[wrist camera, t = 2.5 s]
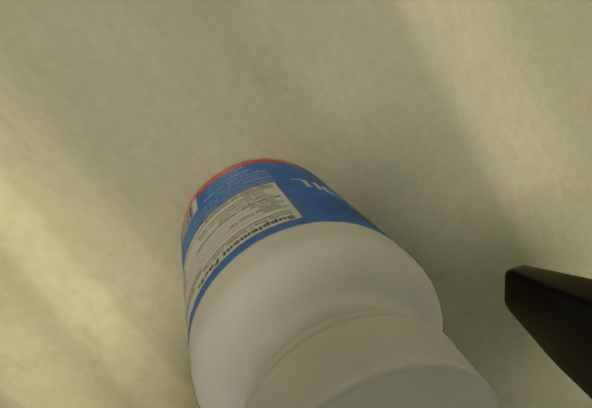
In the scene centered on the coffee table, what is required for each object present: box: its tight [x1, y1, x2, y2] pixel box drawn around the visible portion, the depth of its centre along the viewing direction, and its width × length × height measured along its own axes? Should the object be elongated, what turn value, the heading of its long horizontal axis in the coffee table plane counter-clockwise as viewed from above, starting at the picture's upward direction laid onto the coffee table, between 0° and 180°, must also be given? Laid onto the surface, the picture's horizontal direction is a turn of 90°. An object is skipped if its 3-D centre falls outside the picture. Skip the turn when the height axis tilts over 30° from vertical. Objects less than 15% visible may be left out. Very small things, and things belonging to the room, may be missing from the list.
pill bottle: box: [181, 158, 501, 408], centre depth 11 cm, size 6×5×10 cm
